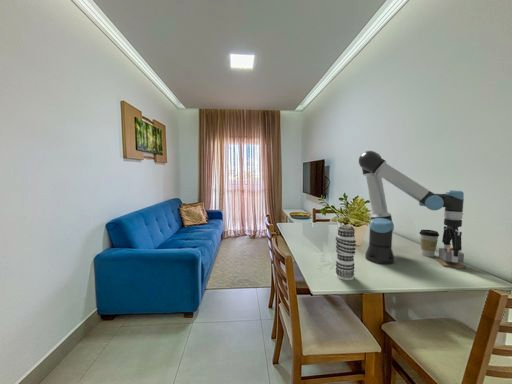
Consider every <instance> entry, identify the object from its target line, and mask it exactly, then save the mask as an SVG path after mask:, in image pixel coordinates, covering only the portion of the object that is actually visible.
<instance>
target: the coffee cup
mask: <svg viewBox="0 0 512 384" xmlns="http://www.w3.org/2000/svg"><path fill="white" fill-rule="evenodd" d="M418 234H419V241H420V242H419V244H420V251H421V255H422V256H423V257H429V258H434V256H435V254H436V249H437V245H438V239H439V237H440V234H439V231H436V230H433V229H420V231H419V232H418Z"/></svg>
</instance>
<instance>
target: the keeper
mask: <svg viewBox="0 0 512 384" xmlns="http://www.w3.org/2000/svg"><path fill="white" fill-rule="evenodd" d="M451 249H453V247H451V246H450V247H448V248H447V251H448V252H452V250H451ZM434 260H435V261H436V262H437V263H439V265H441V266H442V267H445V268H446V267H447V268H455V269H467V266H466V265H464V264H463V263H459V262H447V261H444V260H443V259H442V258H440V257H439V258H438V257H435V259H434Z"/></svg>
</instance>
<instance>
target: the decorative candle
mask: <svg viewBox="0 0 512 384" xmlns="http://www.w3.org/2000/svg"><path fill="white" fill-rule="evenodd" d="M355 231H356V229H355V228H354V227H353V226H352V225H350V224H349V225H348V224H341V225H339V227H338V228H337V235H336V237H335V241H336V242H335V243H336V245H335V247H336V249H335V251H336V252H335V253H336V261H335V266H336V267H335V277H337V278H338V279H339V280H340V279H341V280H344V281H345V280H346V281H351V280H354V278H355V276H354V275H355V259H354V258H355V257H354V256H355V255H356V251H355V250H356V246H357V244H356V243H357V240H356V236H355Z"/></svg>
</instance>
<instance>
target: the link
mask: <svg viewBox="0 0 512 384" xmlns="http://www.w3.org/2000/svg"><path fill="white" fill-rule="evenodd" d="M451 255H452V252H448V251H447V248H444V247H439V248H438V257H439V259H443V260H444V261H447V262H451ZM464 258H465V253H463V252H462V251H459V253H458V262H459V263H461V264H463V263H464V262H465V261H464V260H465V259H464Z"/></svg>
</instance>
